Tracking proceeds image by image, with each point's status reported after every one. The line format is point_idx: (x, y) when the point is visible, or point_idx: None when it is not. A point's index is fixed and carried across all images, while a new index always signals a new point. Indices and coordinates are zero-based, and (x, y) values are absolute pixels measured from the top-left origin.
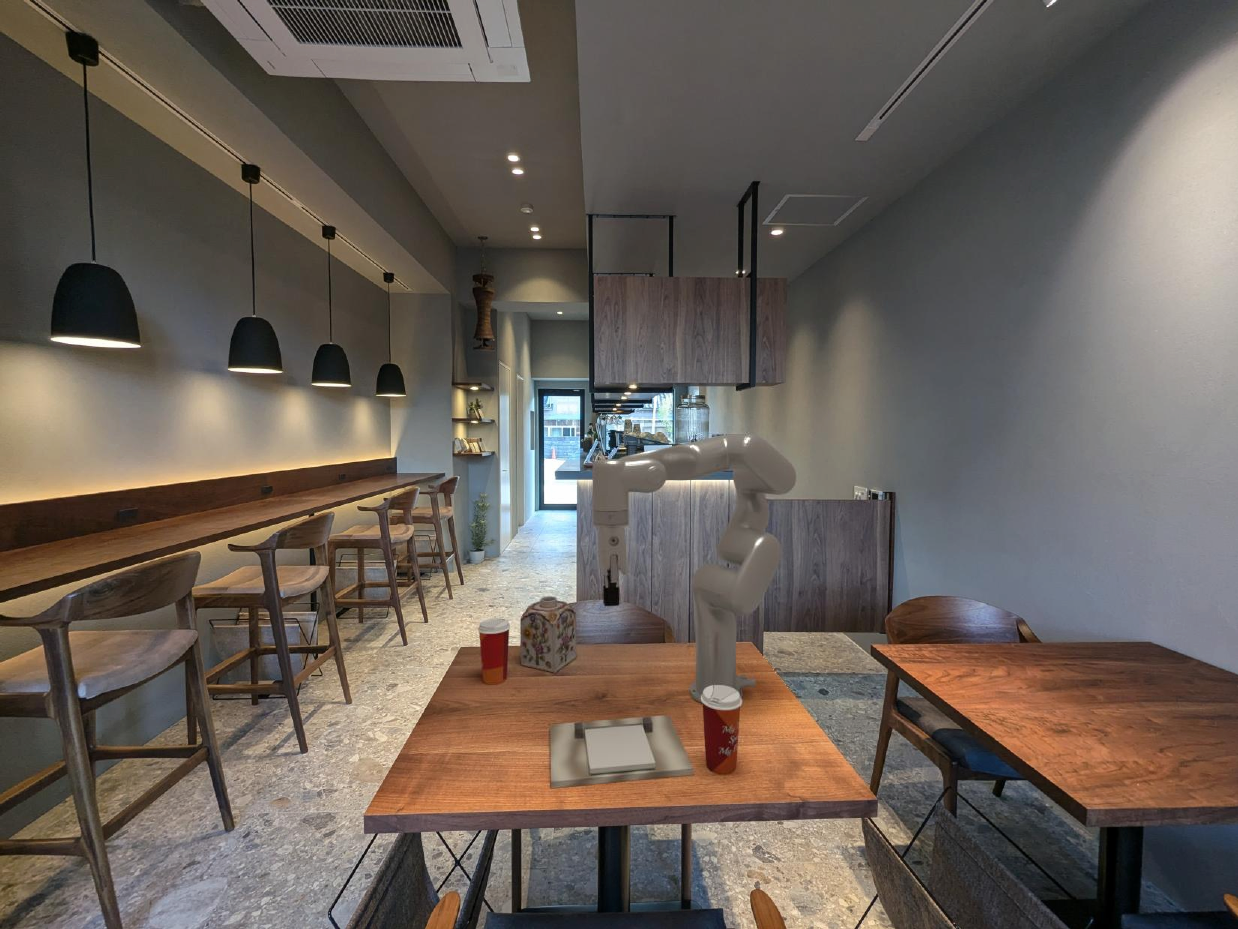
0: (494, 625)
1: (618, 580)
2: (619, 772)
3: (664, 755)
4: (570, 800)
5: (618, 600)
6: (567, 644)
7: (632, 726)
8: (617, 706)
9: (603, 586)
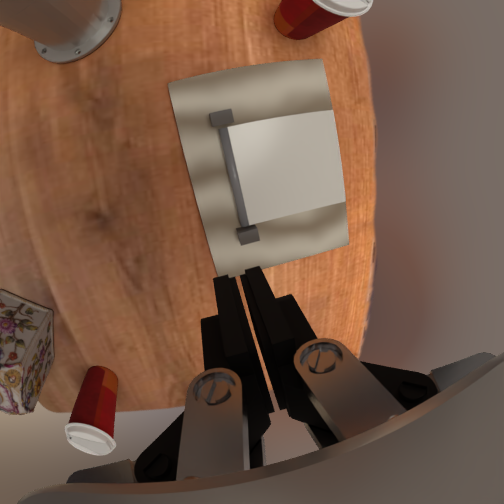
0: (98, 443)
1: (375, 379)
2: None
3: (295, 93)
4: (364, 215)
5: (264, 281)
6: (6, 317)
7: (234, 144)
8: (127, 183)
9: (269, 419)
